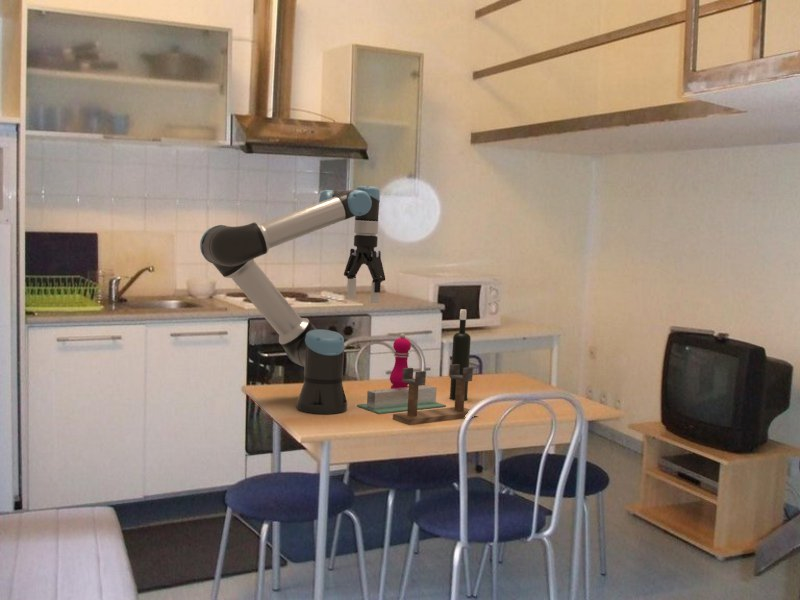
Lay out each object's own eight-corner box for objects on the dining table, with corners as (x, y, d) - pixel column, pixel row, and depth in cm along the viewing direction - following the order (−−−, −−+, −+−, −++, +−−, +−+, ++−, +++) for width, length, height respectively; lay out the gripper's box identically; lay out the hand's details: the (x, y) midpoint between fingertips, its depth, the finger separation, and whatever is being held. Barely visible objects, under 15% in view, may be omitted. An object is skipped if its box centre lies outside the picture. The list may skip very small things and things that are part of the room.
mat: (378, 414, 263) (379, 412, 263) (356, 406, 273) (356, 404, 273) (445, 406, 279) (446, 405, 278) (422, 399, 288) (422, 398, 288)
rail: (374, 409, 267) (374, 393, 266) (366, 406, 270) (367, 390, 270) (435, 403, 281) (436, 387, 281) (427, 400, 284) (428, 385, 284)
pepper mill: (401, 394, 295) (404, 335, 293) (384, 391, 299) (387, 332, 297) (414, 391, 301) (417, 333, 299) (397, 388, 305) (400, 331, 303)
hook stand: (409, 424, 251) (411, 373, 250) (392, 419, 257) (395, 368, 256) (477, 416, 267) (480, 367, 265) (460, 411, 273) (462, 363, 272)
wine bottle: (455, 396, 296) (460, 308, 293) (470, 399, 293) (475, 309, 290) (446, 398, 291) (451, 308, 289) (461, 401, 288) (466, 310, 285)
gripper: (398, 236, 274) (395, 304, 276) (354, 233, 294) (351, 296, 296) (378, 236, 269) (375, 304, 271) (335, 232, 289) (332, 296, 291)
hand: (362, 300), depth 283 cm, fingers open, 13 cm apart
